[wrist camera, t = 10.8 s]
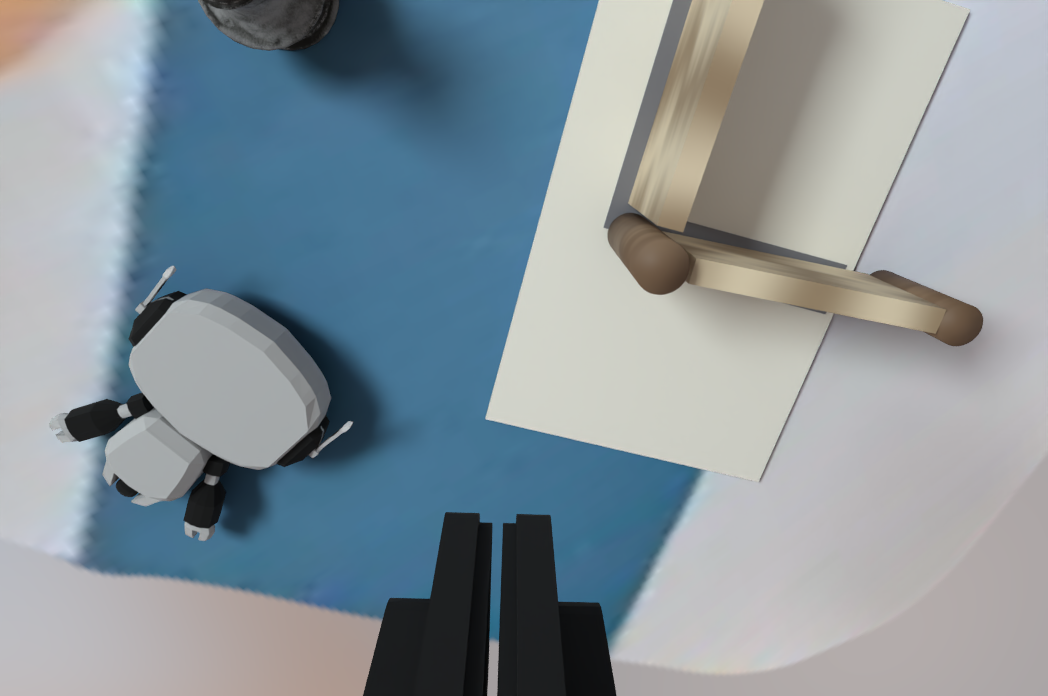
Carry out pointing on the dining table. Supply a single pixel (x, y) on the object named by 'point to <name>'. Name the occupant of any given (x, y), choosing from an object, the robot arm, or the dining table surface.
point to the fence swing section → (830, 289)
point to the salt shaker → (273, 21)
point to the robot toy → (205, 402)
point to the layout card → (712, 225)
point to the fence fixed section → (683, 140)
